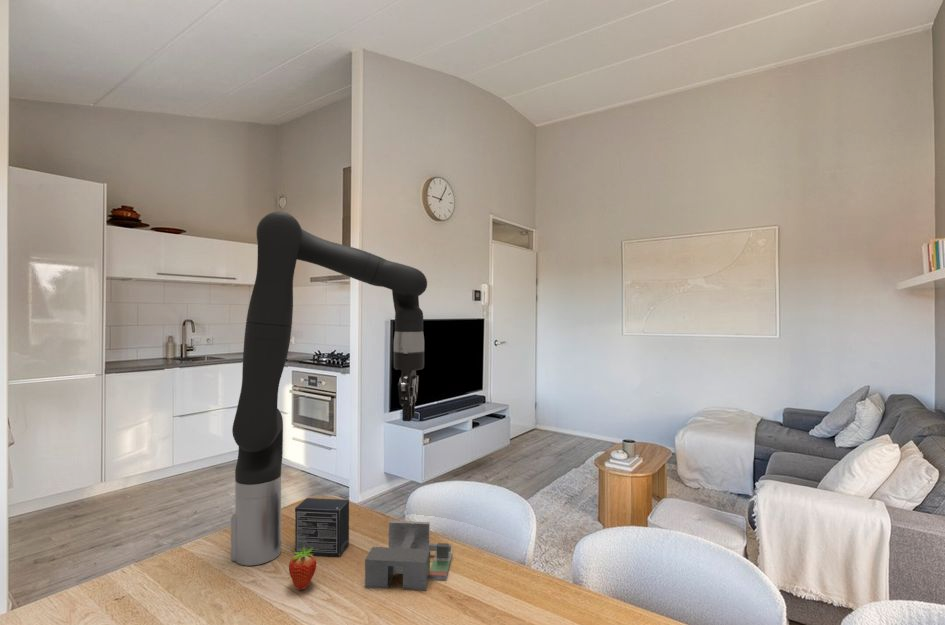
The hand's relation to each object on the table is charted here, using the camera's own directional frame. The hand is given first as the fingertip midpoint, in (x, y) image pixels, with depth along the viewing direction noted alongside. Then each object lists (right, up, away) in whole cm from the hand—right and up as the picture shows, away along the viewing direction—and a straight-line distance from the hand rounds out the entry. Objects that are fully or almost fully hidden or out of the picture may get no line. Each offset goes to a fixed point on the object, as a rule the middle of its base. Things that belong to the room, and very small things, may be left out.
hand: (408, 418), depth 119 cm
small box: (-18, -27, -10) cm, 34 cm away
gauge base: (+3, -27, -19) cm, 33 cm away
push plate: (+4, -27, -18) cm, 33 cm away
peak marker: (+9, -26, -15) cm, 32 cm away
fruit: (-17, -28, -25) cm, 41 cm away
